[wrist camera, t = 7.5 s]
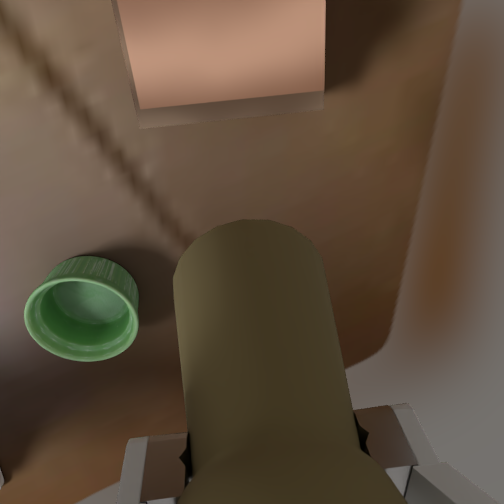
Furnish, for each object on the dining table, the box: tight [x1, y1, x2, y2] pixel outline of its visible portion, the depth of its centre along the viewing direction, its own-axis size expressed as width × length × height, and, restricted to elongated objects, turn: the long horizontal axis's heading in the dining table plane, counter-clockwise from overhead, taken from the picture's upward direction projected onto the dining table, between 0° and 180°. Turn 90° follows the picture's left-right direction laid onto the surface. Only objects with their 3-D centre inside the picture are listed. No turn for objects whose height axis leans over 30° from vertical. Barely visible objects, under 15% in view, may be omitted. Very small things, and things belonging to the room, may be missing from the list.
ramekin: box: [24, 256, 139, 362], centre depth 36 cm, size 9×9×4 cm
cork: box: [173, 220, 408, 504], centre depth 12 cm, size 6×6×11 cm
